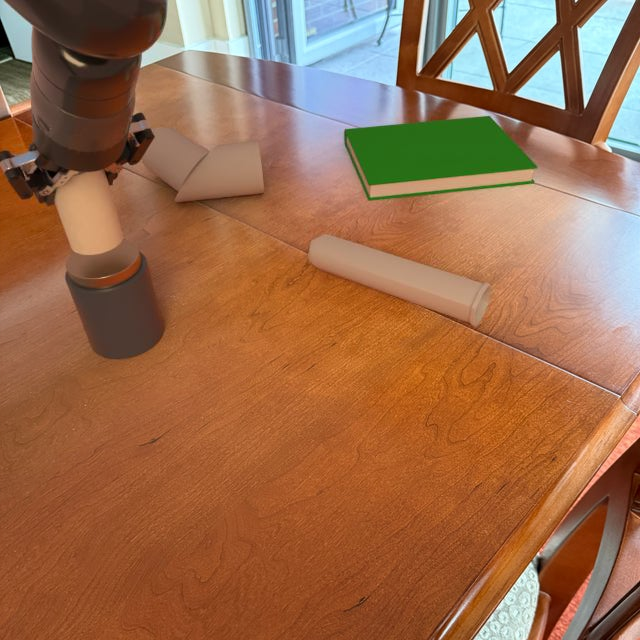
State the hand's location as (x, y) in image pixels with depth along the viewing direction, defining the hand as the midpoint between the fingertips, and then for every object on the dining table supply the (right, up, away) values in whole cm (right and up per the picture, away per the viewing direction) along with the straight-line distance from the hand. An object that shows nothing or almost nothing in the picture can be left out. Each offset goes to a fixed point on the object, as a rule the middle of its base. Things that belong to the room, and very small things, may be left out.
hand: (75, 187), depth 63 cm
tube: (+35, -10, +17) cm, 40 cm away
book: (+46, +14, +45) cm, 65 cm away
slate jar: (+2, -16, +12) cm, 20 cm away
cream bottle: (+1, -5, +3) cm, 6 cm away
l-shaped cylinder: (+6, +9, +41) cm, 42 cm away
